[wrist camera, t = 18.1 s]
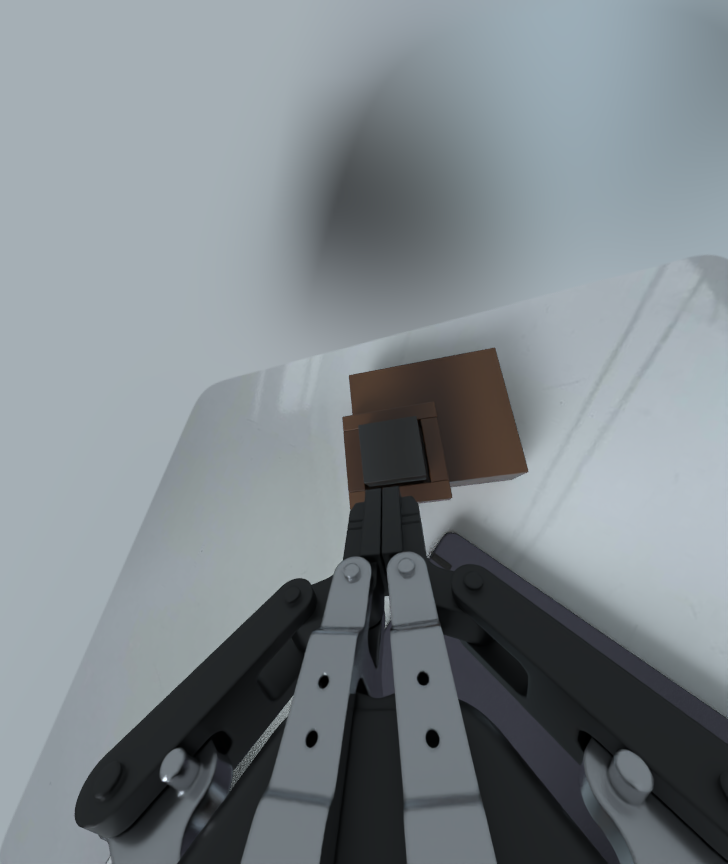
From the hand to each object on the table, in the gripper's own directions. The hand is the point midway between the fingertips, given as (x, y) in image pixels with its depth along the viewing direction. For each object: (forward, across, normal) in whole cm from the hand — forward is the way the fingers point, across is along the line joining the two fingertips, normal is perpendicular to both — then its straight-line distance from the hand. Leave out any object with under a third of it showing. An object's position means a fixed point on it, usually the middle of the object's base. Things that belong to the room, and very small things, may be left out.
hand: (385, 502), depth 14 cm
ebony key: (+8, 0, +2) cm, 8 cm away
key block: (+14, -3, +4) cm, 15 cm away
